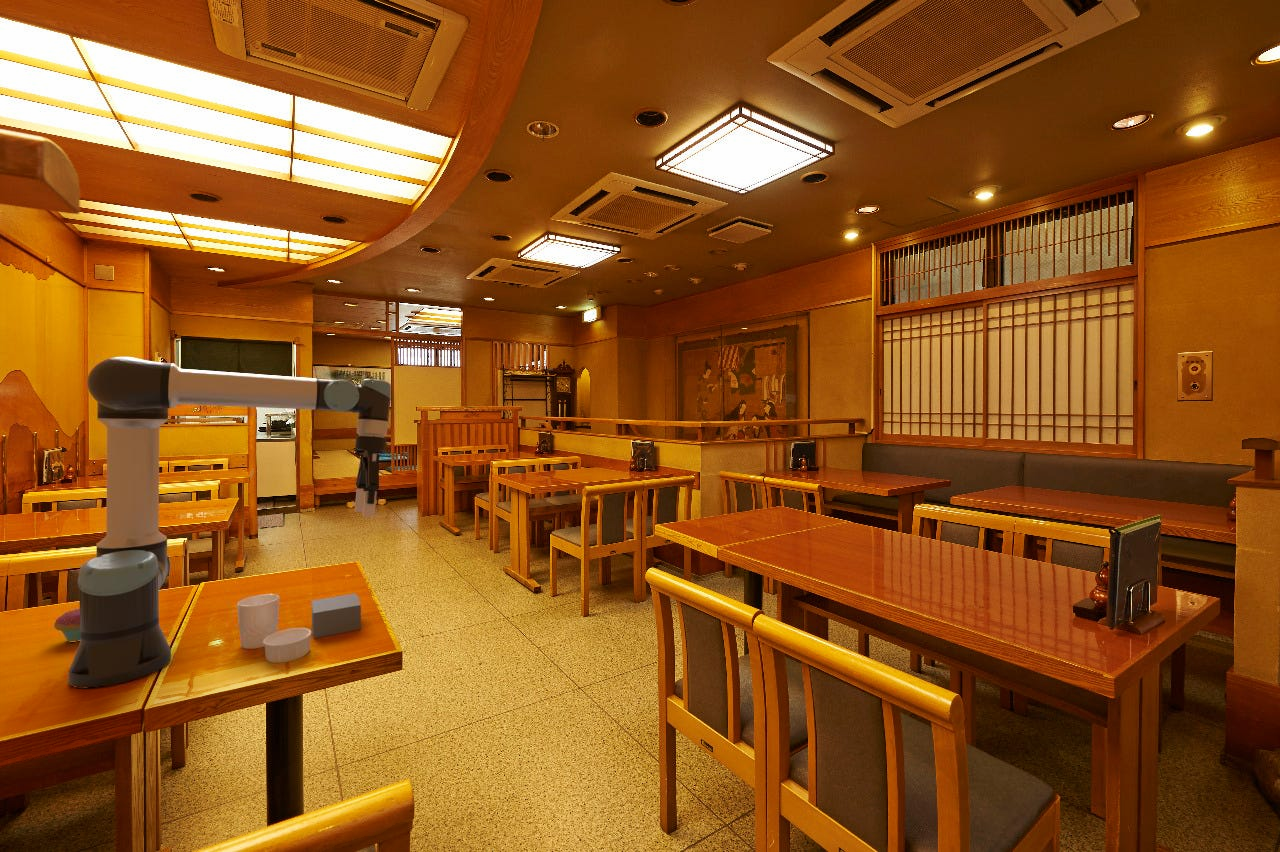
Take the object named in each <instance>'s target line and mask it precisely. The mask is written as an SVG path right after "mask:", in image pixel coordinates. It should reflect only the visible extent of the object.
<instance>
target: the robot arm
mask: <svg viewBox="0 0 1280 852" xmlns="http://www.w3.org/2000/svg"><path fill="white" fill-rule="evenodd" d="M86 383H87V389H88V392H89V394H90V396H91V397H92V398H93V399H94V400H95V401H96V403H97V405H96V406H97V409H96V410H97V413H96V414H97V419H96V420H97V421H99V422H100V423H101V424H102V425H104V426H105V427H106V525H105V527H106V532H105V537H103V538H102V539H101V540H100V541H99V542H98V543H96V557H93V558H91V559H89V560H88V561H86V562H84V563H83V564H82V565H81V567H80V569H79V572H78V577H77V586H78V596H79V597H78V598H79V599H78V601H79V609H80V633H81V641H80V642H79V645H78V647H77V650H76V653H75V655H74V657H73V660H72V662H71V665H70V667H69V670H68V685H69V684H71V685H72V686H76V687H97V688H99V687H98V686H105V687H109V686H108V685H110V686H114V685H113V684H115V685H119V684H118V683H120V684H122V682H124V683H126V681H127V682H131V681H133V679H134V680H137V679H140V678H143V677H145V675H146V676H148V675H150V674H149V673H151V674H153V673H155V672H157V671H160V670H161V669H163V668H164V667H165V666H167V665H168V664H169V663H170V662H171V660H172V651H171V647H170V644H169V643H168V640H167V638H166V636H165V634H164V632H163V630H162V627H161V625H160V609H159V608H160V606H159V605H160V601H159V599H160V598H159V595H160V594H159V593H160V592H159V591H160V589H161V588H162V586H163V584H164V583H165V582H166V581H167V579H168V575H169V574H170V572H171V571H170V570H171V562H170V561H171V560H170V558H169V557H168V537H167V535H165V534H163V533H162V532H161V531H160V530H159V525H160V524H159V523H160V522H159V521H160V520H159V519H160V518H159V516H160V515H159V512H160V511H159V510H160V509H159V508H160V505H159V503H160V502H159V499H160V428H161V427H162V426H163V425H164V424H165V423H166V422H168V421H169V409H171V410H172V409H174V408H175V407H177V406H179V405H188V406H189V405H192V406H195V405H196V406H212V407H213V406H218V407H219V406H220V407H237V408H238V407H240V408H241V407H242V408H243V407H245V408H265V409H268V408H269V409H289V410H290V409H295V410H317V411H331V412H332V411H333V412H344V413H353V414H358V418H357V424H356V434H358V436H356V437H355V449H356V450H359V451H363V453H362V452H361V453H360V459H359V465H358V470H357V477H356V481H355V486H356V491H355V492H356V493H355V503H354V513H362V517H363V518H364V517H365V518H368V517H372V518H374V517H375V513H376V506H377V505H376V503H377V494H378V491H379V489H380V457H381V455H380V453H377V452H384V451H386V449H387V440H388V439H387V435H388V430H389V429H391V428H390V427H391V426H390V425H389V418H390V417H389V416H390V407H391V400H392V385H391V383H390V382H388V381H386V380H383V379H382V380H381V379H372V378H365V379H363V380H362V381H361V384H359V385H357V384H354V383H353V382H351V381H349V380H348V379H326V378H315V377H314V378H312V377H300V376H299V377H297V376H284V375H283V376H282V375H269V374H258V373H257V374H255V373H245V372H244V373H242V372H241V373H240V372H227V371H214V370H202V369H201V370H199V369H188V368H187V369H186V368H180V367H179V366H178V365H177V364H176V363H172V362H171V363H170V362H169V363H168V362H159V361H151V360H147V359H141V358H138V357H132V356H115V357H110V358H106V359H104V360H102V361H101V362H99V363H97V364H96V365H95V366H94V367H93V368H92V369H91V370H90V372H89V374H88V377H87V381H86ZM154 671H155V672H154ZM152 672H153V673H152ZM147 674H148V675H147ZM136 678H137V679H136ZM130 680H131V681H130ZM72 686H71V687H72Z"/></svg>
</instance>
